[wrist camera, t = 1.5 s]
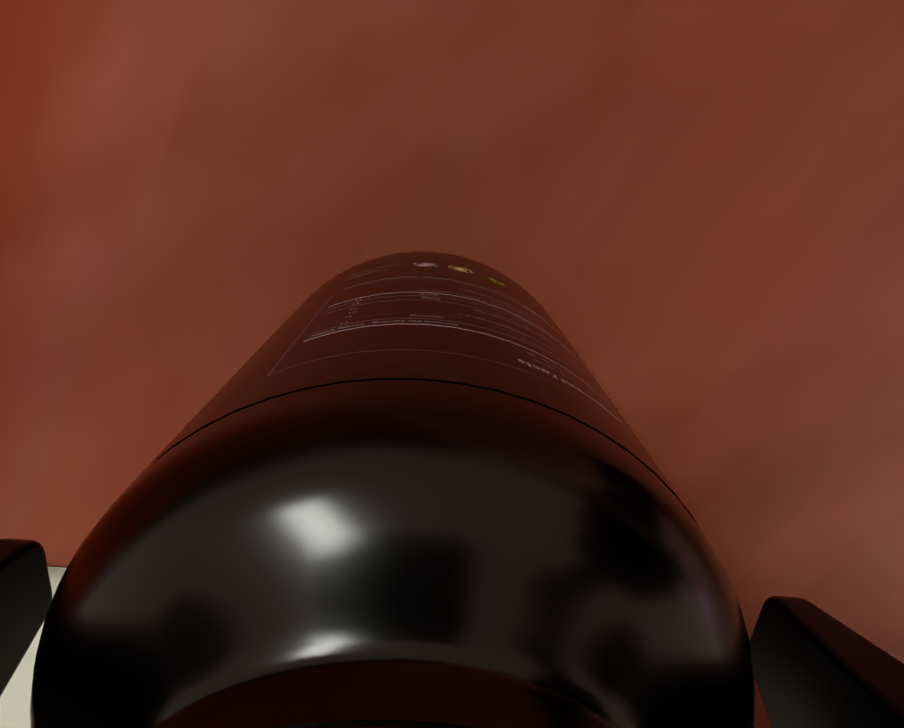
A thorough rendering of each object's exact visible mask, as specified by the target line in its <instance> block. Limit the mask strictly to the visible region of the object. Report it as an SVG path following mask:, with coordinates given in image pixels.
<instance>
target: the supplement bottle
mask: <svg viewBox="0 0 904 728" xmlns="http://www.w3.org/2000/svg"><path fill="white" fill-rule="evenodd" d="M754 703H755V688H754V673H753V665H752V658H751V650H750V643H749V637H748V634H747V630H746V626H745V623H744V619H743V615H742V612H741V608H740V605H739V602H738V600H737V597H736V595H735V592H734V590H733V588H732V585H731V583H730V581H729V578H728V576H727V574H726V572H725V570H724V569H723V567H722V565H721V563H720V562H719V560H718V558H717V557H716V555H715V553H714V551H713V550H712V548H711V546H710V544H709V543H708V541H707V539H706V538H705V536H704V534H703V533H702V531H701V530H700V528H699V526H698V525H697V523H696V521H695V519H694V518H693V516H692V515H691V513H690V512H689V510H688V509H687V507H686V506H685V505H684V503H683V502H682V500H681V499H680V498H679V496H678V495H677V493H676V492H675V490H674V489H673V488H672V486H671V485H670V483H669V482H668V481H667V479H666V478H665V476H664V475H663V474H662V472H661V471H660V469H659V468H658V467H657V465H656V464H655V462H654V461H653V460H652V458H651V457H650V455H649V454H648V453H647V451H646V450H645V448H644V447H643V446H642V444H641V443H640V441H639V440H638V439H637V437H636V436H635V434H634V433H633V431H632V430H631V429H630V427H629V426H628V424H627V423H626V422H625V420H624V419H623V417H622V416H621V415H620V413H619V412H618V410H617V409H616V408H615V406H614V405H613V403H612V402H611V401H610V399H609V398H608V396H607V395H606V394H605V392H604V391H603V389H602V388H601V387H600V385H599V384H598V382H597V381H596V380H595V378H594V377H593V375H592V374H591V373H590V371H589V370H588V368H587V367H586V366H585V364H584V363H583V361H582V360H581V359H580V357H579V356H578V354H577V353H576V352H575V350H574V349H573V347H572V346H571V345H570V343H569V342H568V340H567V339H566V338H565V336H564V335H563V333H562V332H561V331H560V329H559V328H558V327H557V325H556V324H555V323H554V321H553V320H552V319H551V317H550V316H549V315H548V314H547V312H546V311H545V310H544V309H543V307H542V306H541V305H540V304H539V303H538V302H537V301H536V300H535V299H534V298H533V297H532V296H531V295H530V294H529V293H528V292H527V291H525V290H524V289H523V288H522V287H521V286H520V285H518V284H517V283H515V282H514V281H513V280H511V279H510V278H508V277H507V276H505V275H504V274H502V273H500V272H498V271H496V270H495V269H493V268H491V267H489V266H486V265H484V264H482V263H479V262H477V261H474V260H471V259H468V258H464V257H460V256H456V255H451V254H446V253H437V252H405V253H397V254H391V255H386V256H382V257H378V258H375V259H371V260H368V261H366V262H363V263H361V264H358V265H356V266H354V267H352V268H350V269H348V270H346V271H344V272H342V273H340V274H338V275H337V276H335V277H334V278H332V279H331V280H329V281H328V282H326V283H325V284H324V285H323V286H321V287H320V288H319V289H318V290H317V291H315V292H314V293H313V294H312V295H311V296H310V297H309V298H308V299H307V300H306V301H305V302H304V303H303V304H302V305H301V306H300V307H299V308H298V309H297V310H296V311H295V312H294V313H293V314H292V315H291V316H290V317H289V318H288V319H287V320H286V321H285V323H284V324H283V325H282V326H281V327H280V328H279V329H278V330H277V331H276V332H275V333H274V334H273V335H272V336H271V337H270V338H269V339H268V340H267V341H266V342H265V343H264V345H263V346H262V347H261V348H260V349H259V350H258V351H257V352H256V353H255V354H254V355H253V356H252V357H251V358H250V359H249V360H248V361H247V362H246V363H245V364H244V365H243V367H242V368H241V369H240V370H239V371H238V372H237V373H236V374H235V375H234V376H233V377H232V378H231V379H230V380H229V381H228V382H227V383H226V384H225V385H224V386H223V387H222V388H221V390H220V391H219V392H218V393H217V394H216V395H215V396H214V397H213V398H212V399H211V400H210V401H209V402H208V403H207V404H206V405H205V406H204V407H203V408H202V409H201V410H200V412H199V413H198V414H197V415H196V416H195V417H194V418H193V419H192V420H191V421H190V422H189V423H188V424H187V425H186V426H185V427H184V428H183V429H182V430H181V431H180V432H179V434H178V435H177V436H176V437H175V438H174V439H173V440H172V441H171V442H170V443H169V444H168V445H167V446H166V447H165V448H164V449H163V450H162V451H161V452H160V453H159V455H158V456H157V457H156V458H155V459H154V460H153V461H152V462H151V463H150V464H149V465H148V467H147V468H146V469H145V470H144V471H143V472H142V473H141V474H140V475H139V476H138V477H137V478H136V479H135V480H134V481H133V482H132V484H131V485H130V486H129V487H128V488H127V489H126V490H125V491H124V492H123V493H122V494H121V495H120V497H119V498H118V499H117V500H116V501H115V502H114V503H113V504H112V505H111V506H110V508H109V509H108V510H107V511H106V513H105V514H104V515H103V517H102V518H101V519H100V520H99V522H98V523H97V524H96V526H95V527H94V528H93V530H92V531H91V532H90V533H89V535H88V536H87V537H86V539H85V540H84V541H83V543H82V544H81V545H80V547H79V548H78V550H77V551H76V553H75V555H74V557H73V558H72V560H71V562H70V564H69V565H68V567H67V569H66V571H65V572H64V574H63V576H62V578H61V580H60V582H59V584H58V587H57V589H56V592H55V594H54V596H53V599H52V601H51V604H50V606H49V609H48V611H47V614H46V618H45V621H44V625H43V628H42V632H41V636H40V640H39V644H38V648H37V652H36V658H35V663H34V671H33V680H32V690H31V701H30V724H31V728H754Z"/></svg>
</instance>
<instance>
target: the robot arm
mask: <svg viewBox="0 0 904 728" xmlns="http://www.w3.org/2000/svg"><path fill="white" fill-rule="evenodd" d="M51 601H52V588H51V583H50V578H49V572H48V567H47V562H46V556H45V551H44V548H43V547H42V545H41V544H40V543H39V542H36V541H33V540H21V539H0V697H1V695H2V693H3V692H4V690H5V688H6V686H7V685H8V683H9V681H10V679H11V678H12V676H13V674H14V673H15V671H16V669H17V667H18V666H19V664H20V662H21V660H22V659H23V657H24V655H25V654H26V652H27V650H28V648H29V647H30V645H31V643H32V641H33V640H34V638H35V636H36V634H37V633H38V631H39V629H40V628H41V626H42V624H43V622H44V621H45V618H46V614H47V611H48V609H49V606H50V604H51ZM749 643H750V650H751V658H752V665H753V673H754V677H755V680H756V683H757V686H758V688H759V691H760V694H761V697H762V700H763V702H764V705H765V708H766V711H767V714H768V716H769V719H770V722H771V725H772V728H904V664H903V663H902V662H900V661H899V660H897V659H896V658H894V657H892V656H891V655H889V654H888V653H886V652H885V651H883V650H882V649H880V648H879V647H877V646H876V645H874V644H873V643H871V642H870V641H868V640H867V639H865V638H864V637H862V636H861V635H859V634H857V633H856V632H854V631H853V630H851V629H850V628H848V627H847V626H845V625H844V624H842V623H841V622H839V621H838V620H836V619H835V618H833V617H832V616H830V615H829V614H827V613H826V612H824V611H822V610H821V609H819V608H818V607H816V606H815V605H813V604H812V603H810V602H809V601H807V600H805V599H802V598H797V597H783V596H772V597H769V598H768V599H767V600H766V601H765V602H764V604H763V607H762V609H761V612H760V615H759V617H758V620H757V623H756V626H755V628H754V631H753V634H752V636H751V639H750V642H749Z"/></svg>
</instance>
